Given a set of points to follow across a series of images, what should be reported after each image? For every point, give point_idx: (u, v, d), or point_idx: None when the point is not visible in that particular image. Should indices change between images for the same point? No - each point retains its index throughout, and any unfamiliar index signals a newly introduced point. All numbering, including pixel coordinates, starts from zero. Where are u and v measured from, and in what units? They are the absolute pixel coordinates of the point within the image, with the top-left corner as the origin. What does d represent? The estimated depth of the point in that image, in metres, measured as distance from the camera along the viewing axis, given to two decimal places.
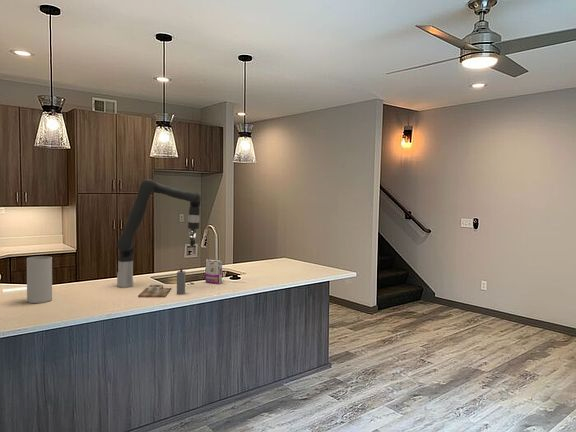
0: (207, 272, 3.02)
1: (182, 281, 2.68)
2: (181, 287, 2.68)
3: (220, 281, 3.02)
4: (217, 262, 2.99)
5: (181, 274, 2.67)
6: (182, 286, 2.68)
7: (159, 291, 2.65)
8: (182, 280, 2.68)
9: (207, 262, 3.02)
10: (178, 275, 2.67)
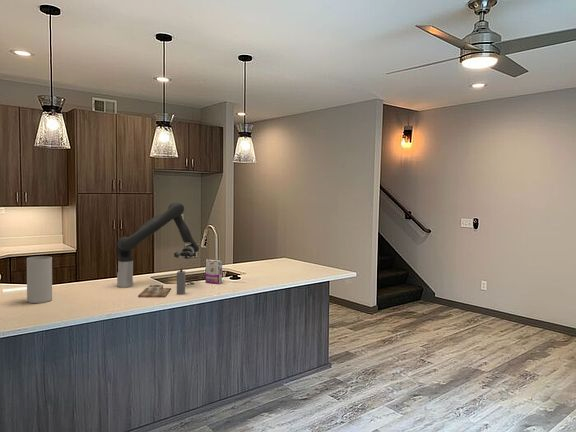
0: (207, 272, 3.02)
1: (182, 281, 2.68)
2: (181, 287, 2.68)
3: (220, 281, 3.02)
4: (217, 262, 2.99)
5: (181, 274, 2.67)
6: (182, 286, 2.68)
7: (159, 291, 2.65)
8: (182, 280, 2.68)
9: (207, 262, 3.02)
10: (178, 275, 2.67)
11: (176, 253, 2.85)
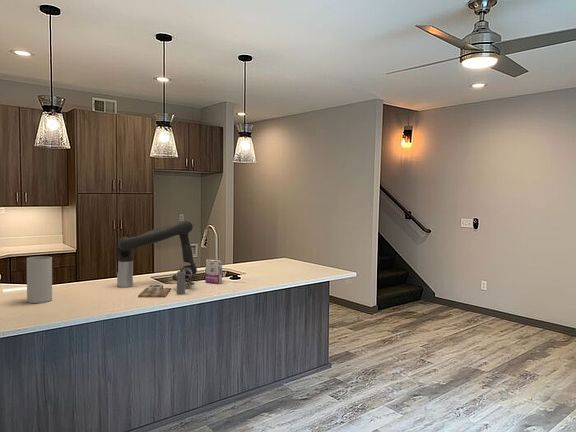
0: (207, 272, 3.02)
1: (182, 281, 2.68)
2: (181, 287, 2.68)
3: (220, 281, 3.02)
4: (217, 262, 2.99)
5: (181, 274, 2.67)
6: (182, 286, 2.68)
7: (159, 291, 2.65)
8: (182, 280, 2.68)
9: (207, 262, 3.02)
10: (178, 275, 2.67)
11: (174, 276, 2.81)
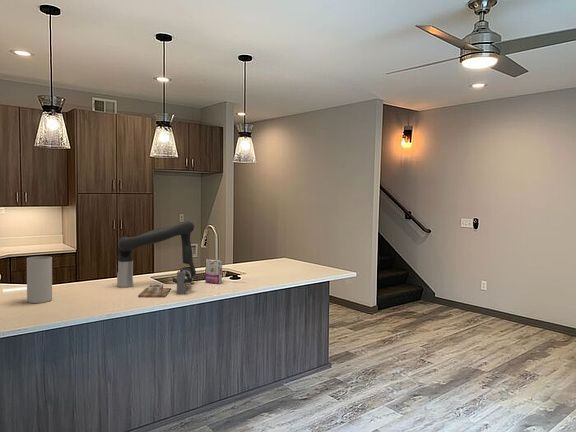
0: (207, 272, 3.02)
1: (182, 281, 2.68)
2: (181, 287, 2.68)
3: (220, 281, 3.02)
4: (217, 262, 2.99)
5: (181, 274, 2.67)
6: (182, 286, 2.68)
7: (159, 291, 2.65)
8: (182, 280, 2.68)
9: (207, 262, 3.02)
10: (178, 275, 2.67)
11: (174, 278, 2.73)
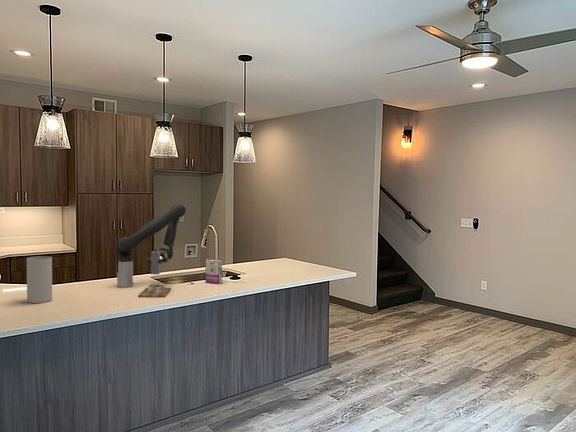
0: (207, 272, 3.02)
1: (156, 261, 2.66)
2: (155, 267, 2.66)
3: (220, 281, 3.02)
4: (217, 262, 2.99)
5: (155, 254, 2.65)
6: (156, 266, 2.66)
7: (159, 291, 2.65)
8: (156, 260, 2.65)
9: (207, 262, 3.02)
10: (152, 255, 2.65)
11: (149, 258, 2.71)
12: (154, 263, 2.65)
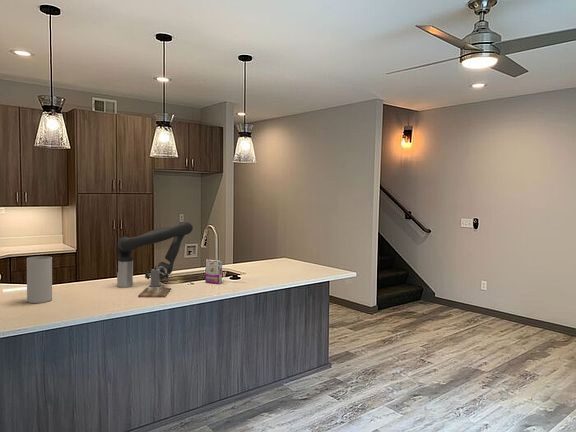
0: (207, 272, 3.02)
1: (156, 279, 2.66)
2: (155, 285, 2.66)
3: (220, 281, 3.02)
4: (217, 262, 2.99)
5: (155, 272, 2.66)
6: (156, 284, 2.66)
7: (159, 291, 2.65)
8: (156, 278, 2.66)
9: (207, 262, 3.02)
10: (152, 273, 2.66)
11: (147, 274, 2.72)
12: (154, 281, 2.66)
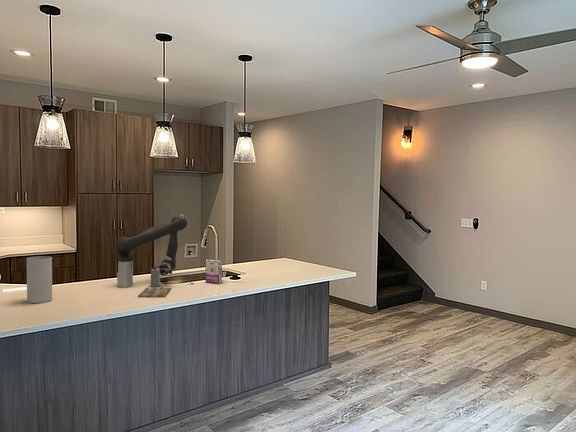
0: (207, 272, 3.02)
1: (156, 279, 2.66)
2: (155, 285, 2.66)
3: (220, 281, 3.02)
4: (217, 262, 2.99)
5: (155, 272, 2.66)
6: (156, 284, 2.66)
7: (159, 291, 2.65)
8: (156, 278, 2.66)
9: (207, 262, 3.02)
10: (152, 273, 2.66)
11: None
12: (154, 281, 2.66)
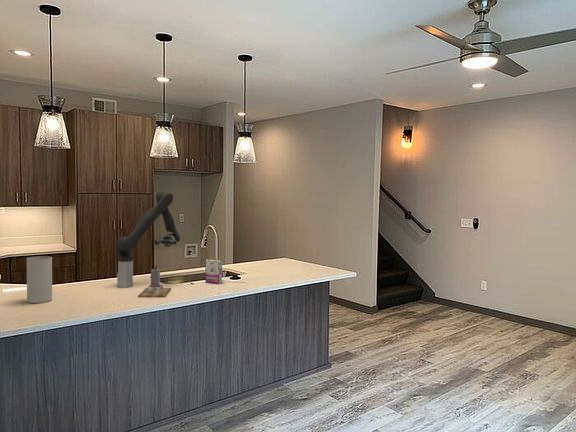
0: (207, 272, 3.02)
1: (156, 279, 2.66)
2: (155, 285, 2.66)
3: (220, 281, 3.02)
4: (217, 262, 2.99)
5: (155, 272, 2.66)
6: (156, 284, 2.66)
7: (159, 291, 2.65)
8: (156, 278, 2.66)
9: (207, 262, 3.02)
10: (152, 273, 2.66)
11: (156, 241, 2.88)
12: (154, 281, 2.66)
